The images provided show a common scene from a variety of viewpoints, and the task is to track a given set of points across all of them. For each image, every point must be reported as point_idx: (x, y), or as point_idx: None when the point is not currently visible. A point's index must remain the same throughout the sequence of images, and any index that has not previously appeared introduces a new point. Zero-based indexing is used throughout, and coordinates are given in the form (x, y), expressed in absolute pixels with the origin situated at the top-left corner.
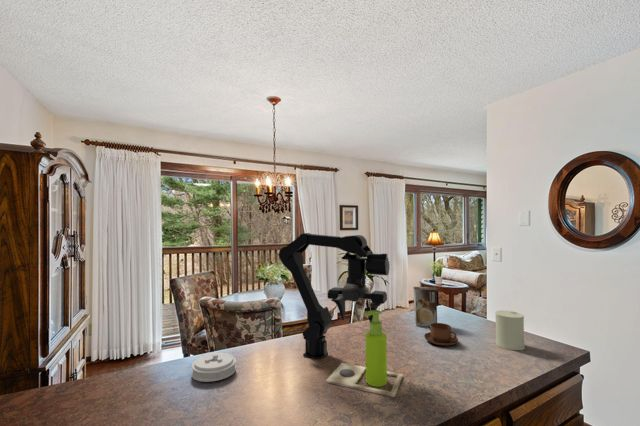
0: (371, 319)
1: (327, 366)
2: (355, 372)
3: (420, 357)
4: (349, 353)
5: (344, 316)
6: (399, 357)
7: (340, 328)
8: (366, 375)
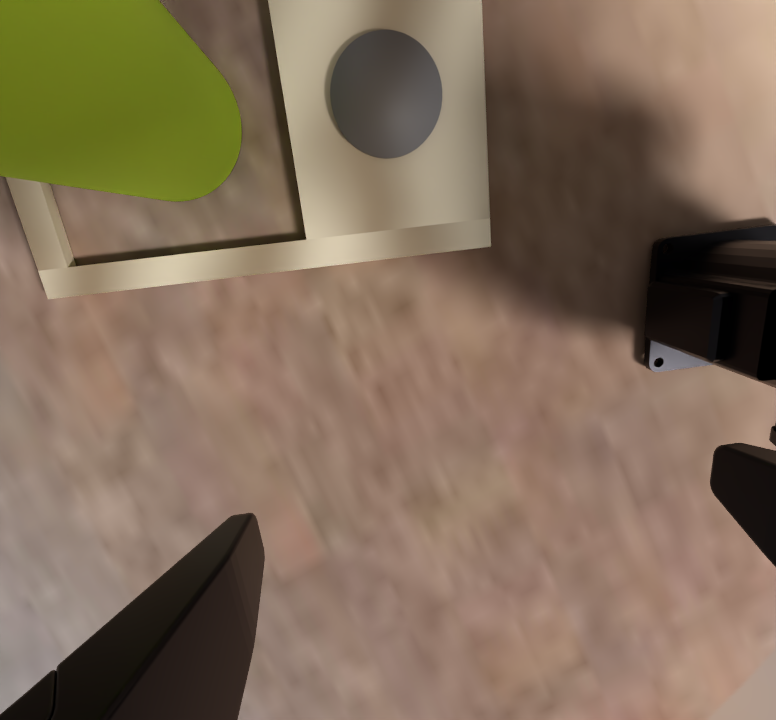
0: (183, 560)
1: (565, 167)
2: (339, 146)
3: (98, 591)
4: (505, 428)
5: (760, 509)
6: (204, 531)
7: (684, 707)
8: (201, 50)
